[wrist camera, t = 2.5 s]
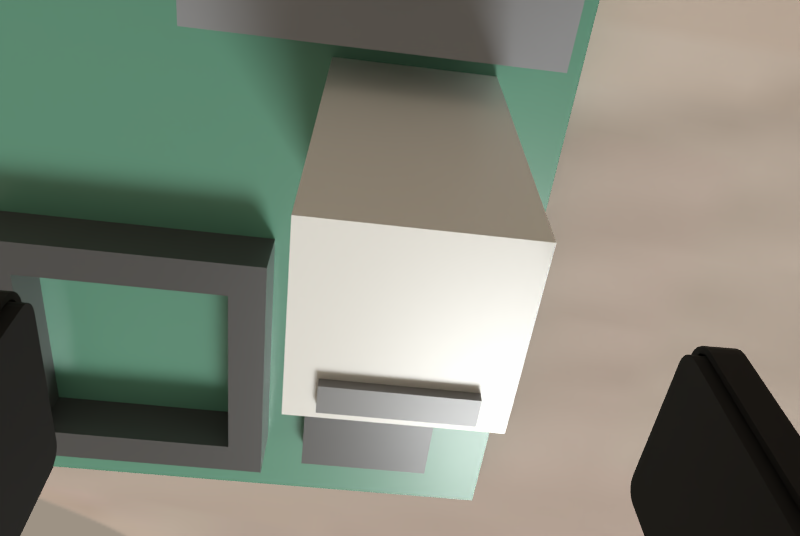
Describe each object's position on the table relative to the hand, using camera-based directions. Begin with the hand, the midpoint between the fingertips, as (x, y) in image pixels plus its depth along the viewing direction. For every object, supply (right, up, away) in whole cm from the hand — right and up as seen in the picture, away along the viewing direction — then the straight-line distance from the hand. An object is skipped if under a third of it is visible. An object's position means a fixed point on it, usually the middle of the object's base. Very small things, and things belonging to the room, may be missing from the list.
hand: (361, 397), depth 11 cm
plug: (+1, +5, +8) cm, 9 cm away
